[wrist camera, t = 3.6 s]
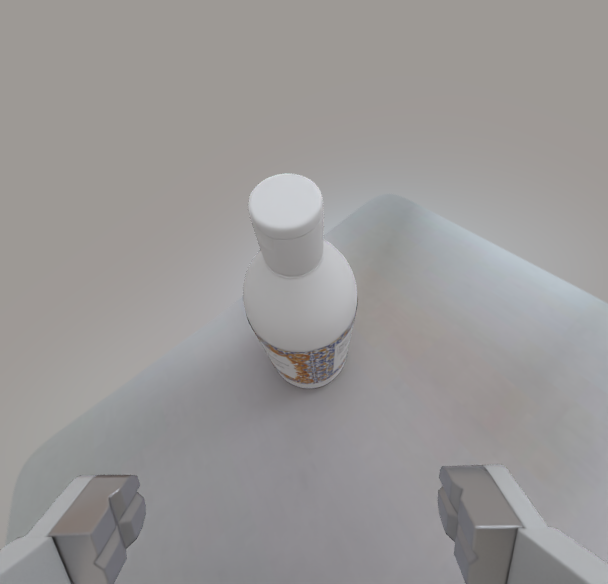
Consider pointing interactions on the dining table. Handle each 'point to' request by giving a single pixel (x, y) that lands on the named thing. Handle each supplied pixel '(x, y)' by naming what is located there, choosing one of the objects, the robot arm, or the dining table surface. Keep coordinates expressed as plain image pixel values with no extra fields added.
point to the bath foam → (298, 283)
